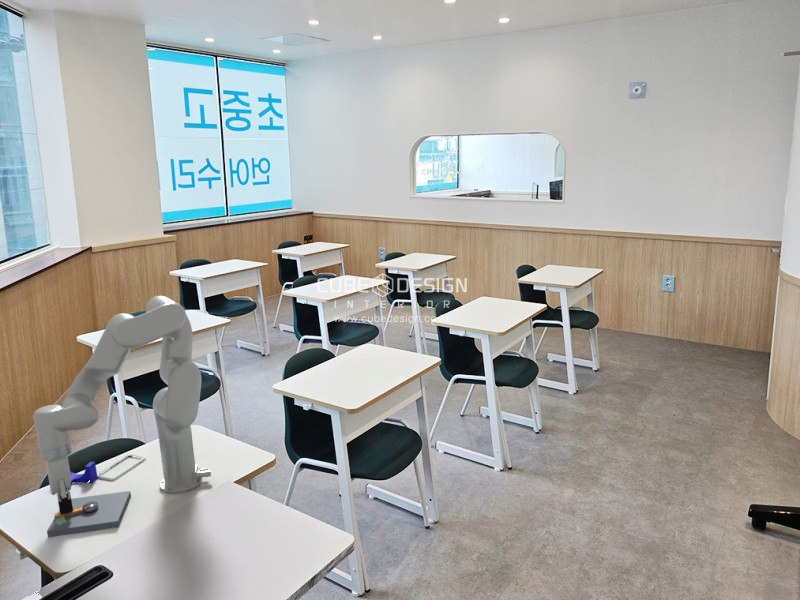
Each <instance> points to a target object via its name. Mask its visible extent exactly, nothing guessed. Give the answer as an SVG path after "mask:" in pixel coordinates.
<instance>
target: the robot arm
mask: <svg viewBox="0 0 800 600" xmlns="http://www.w3.org/2000/svg"><path fill="white" fill-rule="evenodd" d="M186 312H187V311H186V310H185V308H184V307H183V305H181V304H180V303H178V302H176V301H175V300H174V299H172V298H170V297H168V296H165V295H156V296H153V297H152V298H150V299H149V300H148V301H147V305H146V308H145V312H144V313H141V314H140V315H136V316H135V315H133V314H130V313H125V312H122V313H117V314H115V315H114V316H112V317H111V318H110V320H109V321H108V323H107V326H106V327H105V328H104V331H103V332H102V334H101V337H100V339H99V340H98V343H97V345H96V347H95V349H94V351H93V352H92V354H91V356H90V357H89V360H88V361H87V363H86V364H85V365H84V366H83V367H82V369H81V370H80V371H79V372H78V374H77V375H76V376H75V378H74V380H73V381H72V384H71V385H70V387H69V389H68V391H67V393H66V395H65V398H64V400H63V403H62V405H60V404H49V405H45V406H42V407H39V408H37V409H36V410H35V411H34V413H33V415H32V419H33V424H34V429H35V430H34V431H35V434H36V439H37V445H38V451H39V457H40V460H42V461H44V462H45V467H46V473H47V477H48V483H49V489H50V494H51V495H52V496H55V495H57V494H58V497H57V496H56V498H57V499H58V498H59V501H58V500H57V503H58V511H59V510H60V514H61V515H62V514H65V513H69V512H72V511H73V506H72V500H71V499H72V496H71V492H70V491H71V490H72V485H71V477H70V471H71V470H70V462H69V457H68V456H70V454H71V453H72V452H73V449H72V444H71V440H70V439H71V438H70V433H69V432H72V431H79V430H80V431H81V430H82V431H83V430H86V429H89V428H92V427H93V426H94V425H96V423H97V422H98V420H99V418H100V417H99V415H100V413H99V409H98V408H97V407H96V405H95V403H94V400H95V398H96V396H97V394H98V393H99V391H100V389H101V387H102V386H103V384H104V383H105V382H106V381H107V380H108V379H110V378H112V377H114V376H116V375H117V374H119V373H120V372H121V371H122V368H123V366H124V364H125V362H126V360H127V358H128V356H129V354H130V352H131V350H134V349H137V348H141V347H143V346H146V345H148V344H151V343H153V342H154V341H155V342H156V341H157V340H159V339H161V338H162V345H161V352H160V353H161V354H160V355H161V356H160V363H159V371H158V372H159V376H160V378H161V380H162V381H163V382H164V383H165V385H167V386H166V387H163V388H162V389H160V390H158V392H156V394H155V396H154V398H153V401H152V411H153V415H154V418H155V422H156V429H157V433H158V442H159V450H160V458H161V463H162V464H161V465H162V466H161V467H162V472H163V473H162V474H163V478H162V479H161V481H160V482H159V489H160V491H161V492H163V493H165V494H172V495H175V494H176V495H177V494H184V493H186V492H190V491H192V490H194V489H196V488H197V487H198V486H199V485H200V484H201V483H202V481H203V478H208V477H211V476H212V471H211V470H209V469H208V467H205V468H204V467H203V468H200V467H199V465H198V464H197V463H196V460H195V459H196V458H195V452H194V451H195V450H194V443H193V434H192V427H191V425H192V424H193V423H195V420H196V419H197V417H198V413H199V407H200V399H201V398H200V397H201V392H202V391H201V390H202V389H201V388H202V374H201V370H200V368H199V367H198V365H197V364H196V363H195V362H194V361H193V360H192V355H193V354H192V352H193V339H194V338H193V337H194V335H193V328H192V325H191V322H190V319H189V317H188V315H187V313H186ZM66 492H67V494H66ZM69 493H70V495H69ZM60 494H61V495H60Z"/></svg>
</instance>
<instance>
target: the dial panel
mask: <svg viewBox="0 0 800 600" xmlns="http://www.w3.org/2000/svg"><path fill="white" fill-rule="evenodd" d="M131 498H132V493H131V490H127V491H119V492H112V493H111V492H110V493H103V494H98V495H88V496H81V497H74V498H71V500H72V506H73V509H77V508H81V507H83V505H85V504H86V503H89V502H97V503H98V509H97V510H96V511H94V512H92V513H84V512H79V513H74V514H70V515H66V516H62V517H58V518H53V519H52V521H51V524H50V525H49V527H48V528H47V530H46V534H47V538H55V537H61V536H68V535H69V536H70V535H75V534H83V533H89V532H95V531H96V532H97V531H105V530H111V529H117V528H120V526H121V523H122V520H123V519H124V516H125V514H126V511H127V508H128V505H129V503H130V500H131ZM57 513H60V510H59V509H58V512H57Z"/></svg>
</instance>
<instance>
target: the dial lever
mask: <svg viewBox="0 0 800 600" xmlns="http://www.w3.org/2000/svg"><path fill="white" fill-rule="evenodd" d="M66 494H67V492H66ZM60 495H61V494H60ZM69 495H71V492H70V493H69ZM57 497H58V494H56V498H57ZM58 501H59V498H57V502H58ZM97 509H98V503H97V502H89V503H86V504H85V505H83V507H81V508H77V509H73V511H72V512H69V513H65V514H62V515H61V514H60V513H58V512H57V513H54V515H53V517H54V518H58V517H62V516H66V515H70V514H74V513H79V512H84V513H92V512H94V511H96V510H97ZM54 518H53V519H54Z"/></svg>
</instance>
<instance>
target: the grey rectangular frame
mask: <svg viewBox="0 0 800 600" xmlns="http://www.w3.org/2000/svg"><path fill="white" fill-rule="evenodd" d="M128 456H134V457H139V458H141V459H140V460H138V461H137V462H134V464H132V465H131V466H129V467H128V468H126V469H125V470H122V471H121V472H120V473H119V474H117V475H115V476H114V477H110V476H104V475H101V474H102V473H104V472H106V471H107V470H109V469H110V468H111V467H112V468H114V467H115V466H114V465H116V464H117V463H119V462H120V461H122V460H123V461H125V460H126V459H128V458H129V457H128ZM127 457H128V458H127ZM125 458H126V459H125ZM124 459H125V460H124ZM146 459H147V458H146V456H144V455H138V454H132V453H129V454H126V455H125V456H123V457H122V458H120V459H119V460H117V461H116V462H114V463H112V464H111V465H109V466H108V467H106V468H104V469H103V470H101V471H100V472H97V477H98V478H97V479H100V478H102V479H101V480H105V479H106V481H110V482H111V481H112V482H113V481H115V480H118V479H119V478H120V477H122V476H123V475H124V473H125V474H126V473H128V472H130V470H132V469H134V468H135V467H137V466H138V465H140V464H141V463H143V462H144V461H146ZM143 460H144V461H143ZM123 461H122V462H123ZM142 461H143V462H142ZM140 462H141V463H140ZM120 463H121V462H120ZM120 463H119V464H120ZM139 463H140V464H139ZM137 464H138V465H137ZM117 465H118V464H117ZM117 465H116V466H117ZM136 465H137V466H136ZM113 466H114V467H113ZM133 467H134V468H133ZM112 468H111V469H112ZM121 475H122V476H121ZM118 477H119V478H118Z"/></svg>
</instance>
